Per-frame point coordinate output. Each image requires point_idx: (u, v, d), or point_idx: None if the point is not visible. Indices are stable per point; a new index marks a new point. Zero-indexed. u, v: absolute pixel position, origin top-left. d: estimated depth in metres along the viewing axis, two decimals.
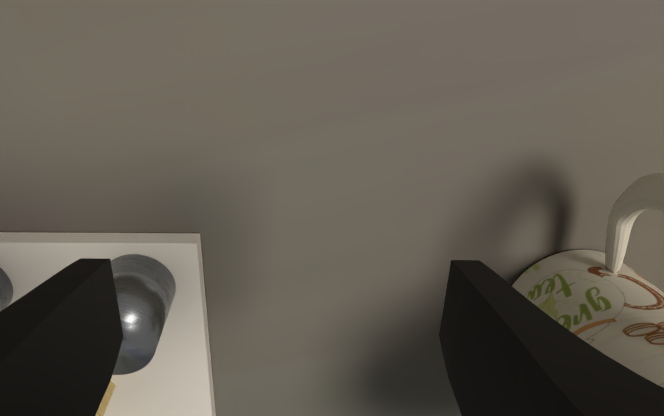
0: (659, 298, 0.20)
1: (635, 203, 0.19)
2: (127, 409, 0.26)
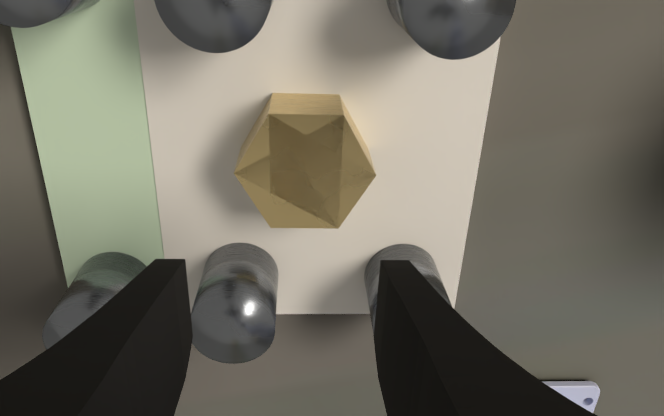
0: None
1: None
2: (374, 186, 0.21)
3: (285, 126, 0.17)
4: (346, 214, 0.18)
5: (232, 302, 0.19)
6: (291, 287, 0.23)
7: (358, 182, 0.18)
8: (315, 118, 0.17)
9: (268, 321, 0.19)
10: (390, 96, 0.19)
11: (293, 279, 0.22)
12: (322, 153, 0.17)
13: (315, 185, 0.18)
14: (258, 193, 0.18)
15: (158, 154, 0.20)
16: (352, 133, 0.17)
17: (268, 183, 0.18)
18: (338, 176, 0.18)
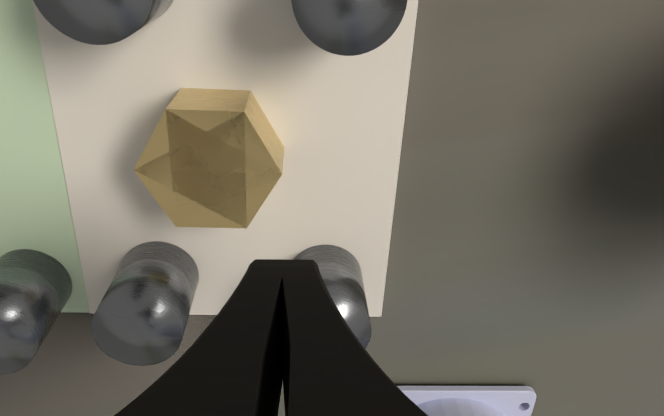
0: None
1: None
2: (292, 185, 0.20)
3: (184, 122, 0.16)
4: (254, 214, 0.18)
5: (136, 303, 0.18)
6: (213, 287, 0.22)
7: (265, 180, 0.18)
8: (215, 114, 0.16)
9: (174, 323, 0.18)
10: (304, 93, 0.19)
11: (214, 279, 0.22)
12: (224, 150, 0.17)
13: (219, 183, 0.17)
14: (161, 191, 0.17)
15: (66, 149, 0.19)
16: (254, 130, 0.17)
17: (170, 181, 0.17)
18: (242, 174, 0.17)
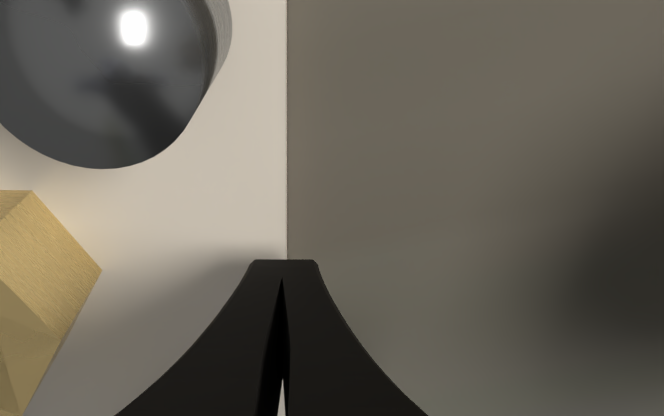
0: None
1: None
2: (125, 322, 0.13)
3: None
4: (28, 396, 0.11)
5: None
6: None
7: (37, 348, 0.11)
8: None
9: None
10: (119, 192, 0.12)
11: None
12: None
13: None
14: None
15: None
16: None
17: None
18: None
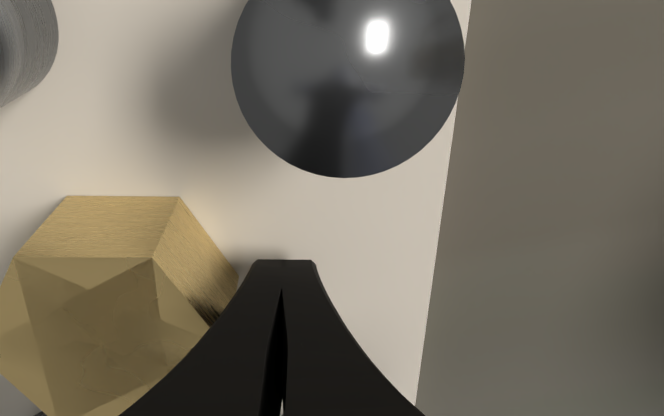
0: None
1: None
2: None
3: (48, 276, 0.09)
4: None
5: None
6: None
7: None
8: (101, 262, 0.09)
9: None
10: (279, 198, 0.12)
11: None
12: (123, 315, 0.10)
13: (122, 364, 0.10)
14: (25, 377, 0.10)
15: None
16: (173, 285, 0.10)
17: (39, 362, 0.10)
18: (160, 350, 0.10)
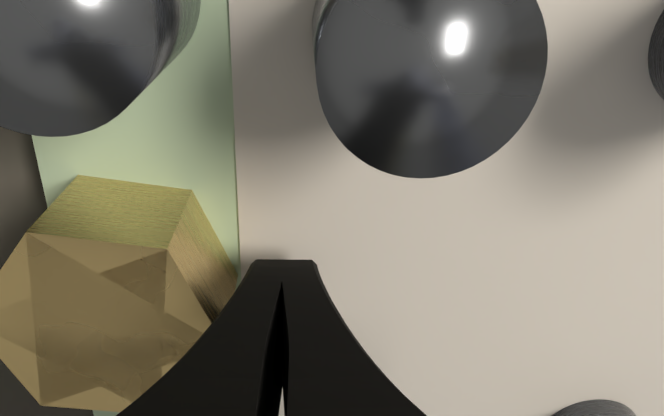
0: None
1: None
2: (571, 326, 0.14)
3: (57, 255, 0.09)
4: None
5: None
6: None
7: None
8: (115, 248, 0.09)
9: None
10: (622, 201, 0.12)
11: None
12: (128, 303, 0.10)
13: (117, 351, 0.10)
14: (15, 353, 0.10)
15: None
16: (182, 278, 0.10)
17: (32, 340, 0.10)
18: (158, 341, 0.10)
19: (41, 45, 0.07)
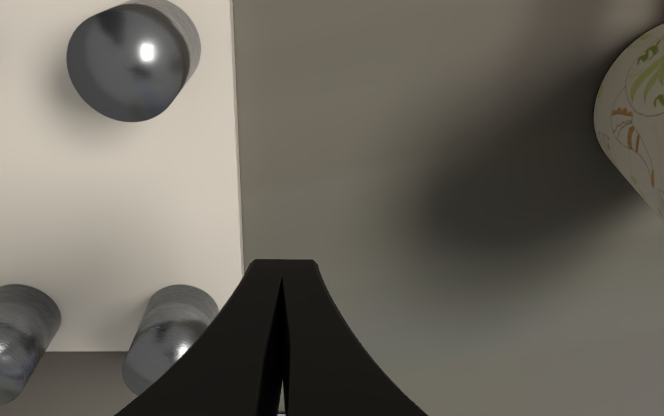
0: None
1: None
2: (138, 230, 0.21)
3: None
4: None
5: None
6: (76, 326, 0.23)
7: None
8: None
9: (13, 367, 0.19)
10: (135, 145, 0.20)
11: (76, 318, 0.23)
12: None
13: None
14: None
15: None
16: None
17: None
18: None
19: None
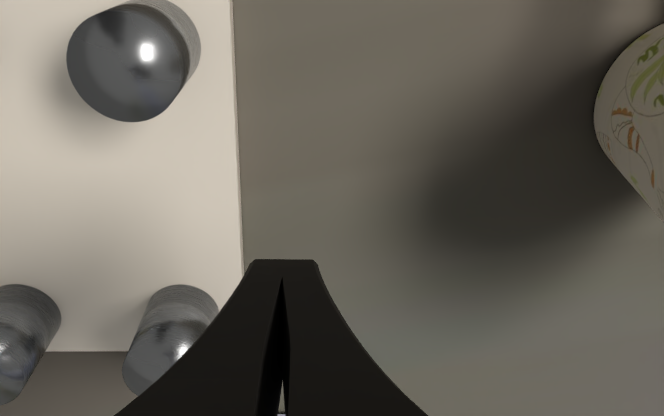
0: None
1: None
2: (138, 230, 0.21)
3: None
4: None
5: None
6: (76, 326, 0.23)
7: None
8: None
9: (13, 367, 0.19)
10: (135, 145, 0.20)
11: (76, 318, 0.23)
12: None
13: None
14: None
15: None
16: None
17: None
18: None
19: None
